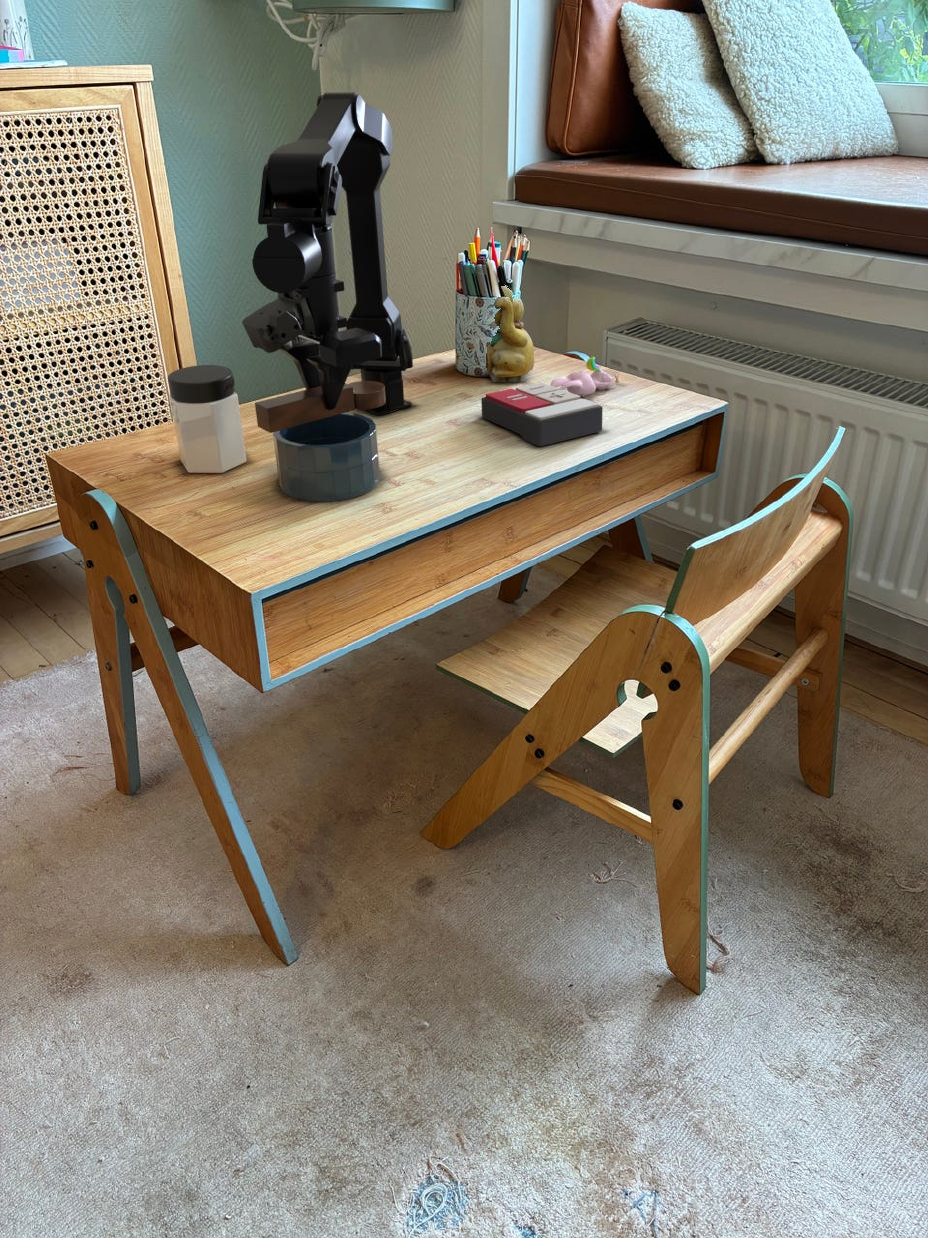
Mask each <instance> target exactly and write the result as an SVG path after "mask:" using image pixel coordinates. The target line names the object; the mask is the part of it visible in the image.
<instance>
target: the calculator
mask: <svg viewBox="0 0 928 1238" xmlns="http://www.w3.org/2000/svg"><path fill="white" fill-rule="evenodd" d="M550 385H551V384H548V383H544V382H542V381H541V382H536V383H535V382H534V383H530V384H525V385H521V386H517V387H515V389H514V388H508V389H502V390H498V391H494V392H488V393H485V396H483V397H481V400H480V401H481V418H483V419H485V420H487V421H489V422H491V423H494V424H495V425H499V426H501V427H502V428H503V427H504V428H505V429H507V430H510V431H511V432H514V433H517V434H519V435H520V436H521V437H522V439H523V441H526V442H527V443H530V444H532V445H535V446H536V447H544V446H548V445H552V444H556V443H560V442H565V441H568V440H571V439H576V438H580V437H584V436H588V435H592V434H596V433H600V432H602V431H603V409H604V408H603V406H602V405H601V404H599V403H597V402H594V401H592V400H589V399H587V398H581V397H580V396H579V395H576V394H573V393H570V392H569V391H568V390H565V389H564V390H559V387H553V386H550Z"/></svg>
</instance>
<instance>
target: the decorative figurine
mask: <svg viewBox="0 0 928 1238" xmlns="http://www.w3.org/2000/svg"><path fill="white" fill-rule="evenodd" d="M506 286H507V285H505V286H501V289H502V292H503V295H504V297H498V298H497V299H496V300H495V302H494V306H495V308H496V309H498V308H501V309H500V310H499V311H498V312H497V313H496V314H495V317H494V319H495V323H496V324H497V326H499V328H500V329H498V330H497V334H496V335H495V336H493V339H492V341H491V346H489V345H488V347H487V353H486V367H485V369H486V368H487V370H486V372H487V373H488V374H489V377H490V378H491V381H492V382H493V383H517V382H518V383H522V382H523V380H522V376H524V375H527V374H529V373H530V371H532V370H533V369H534V366H535V347H534V343H533V340H532V338H531V336H530V335H529V334H528V332H527V331H526V330H525V329H524V323H523V322H522V321H521V320H522V319H523V316H524V311H525V309H524V308H525V307H524V306H525V305H524V303H523V301H522V299H521V298H520V297H519V296H518V297H519V303H518V297H517V298H516V299H515V300H514V301H513V297H512V296H513V294H514V292H513V290H512V289H511V288H510V287H509V288H510V289H511V290H510V289H509V288H507V287H508V286H507V287H506ZM506 297H509V298H510V299H508V298H506Z"/></svg>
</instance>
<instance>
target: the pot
mask: <svg viewBox="0 0 928 1238" xmlns="http://www.w3.org/2000/svg"><path fill="white" fill-rule="evenodd" d="M372 419H373V418H370V417H368V416H365V415H363V414H359V413H353V412H346V413H342V414H338V415H335V416H331V417H327V418H324V419H320V420H317V421H313V422H309V423H306V424H302V425H298V426H295V427H291V428H287V429H284V430H280V431H277V432H273V433H272V437H273V438H272V439H273V446H274V453H275V461H276V470H277V478H278V483H279V487H280V490H281V491H282V492H283V494H286V495H287V496H288V497H291V498H293V499H297V500H300V501H301V500H302V501H308V502H320V503H321V502H322V503H323V502H335V501H344V500H349V499H352V498H356V497H360V496H362V495H365V494H367V493H369V492H371V491H372V490H373V489H374V488H376V487H377V486H378V484H379V482H380V461H379V449H378V447H379V445H378V431H377V424H376V423H375V421H374V420H372Z"/></svg>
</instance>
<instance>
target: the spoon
mask: <svg viewBox="0 0 928 1238" xmlns="http://www.w3.org/2000/svg"><path fill="white" fill-rule="evenodd" d="M385 402H386V399H385V386H384V384H382V383H380V382H375V381H361V380H359V381H353V382H349V383H345V384H344V387H343V390H342V392H341V395H340V397H339V400H338V402H337V405H336V407H335V409H332V410H327V409H326V406H325V402H324V398H323V393H322V388H321V386H319V387H315V388H311V389H307V390H306V389H304V390H299V391H295V392H292V393H291V392H290V393H287V394H284V395H279V396H276V397H271V398H267V399H264V400H259V401H255V402H254V408H255V415H256V423H257V428H259V429H261V430H263V431H265V432H268V433H269V434H273V432H277V431H280V430H284V429H287V428H291V427H295V426H298V425H302V424H306V423H309V422H313V421H317V420H320V419H324V418H327V417H331V416H335V415H338V414H342V413H346V412H347V413H350V412H352V411H356V410H364V409H373V408H377V407H380V406H382V405H384V404H385Z"/></svg>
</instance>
